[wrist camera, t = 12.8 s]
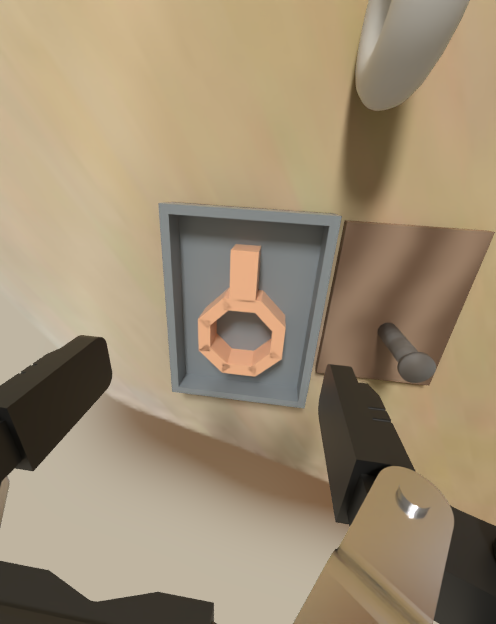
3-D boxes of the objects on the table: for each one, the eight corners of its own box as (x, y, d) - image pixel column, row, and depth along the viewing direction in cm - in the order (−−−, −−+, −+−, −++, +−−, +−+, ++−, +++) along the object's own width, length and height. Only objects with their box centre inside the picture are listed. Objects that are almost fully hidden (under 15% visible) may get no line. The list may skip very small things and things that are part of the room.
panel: (486, 230, 23) (573, 246, 16) (424, 379, 30) (467, 435, 23) (344, 220, 24) (370, 230, 17) (315, 367, 30) (325, 417, 24)
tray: (334, 213, 24) (341, 216, 21) (302, 390, 32) (304, 408, 29) (171, 202, 25) (158, 203, 22) (181, 375, 33) (172, 391, 30)
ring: (293, 248, 25) (294, 254, 22) (279, 362, 30) (279, 379, 27) (204, 241, 25) (195, 247, 23) (206, 354, 31) (199, 370, 28)
